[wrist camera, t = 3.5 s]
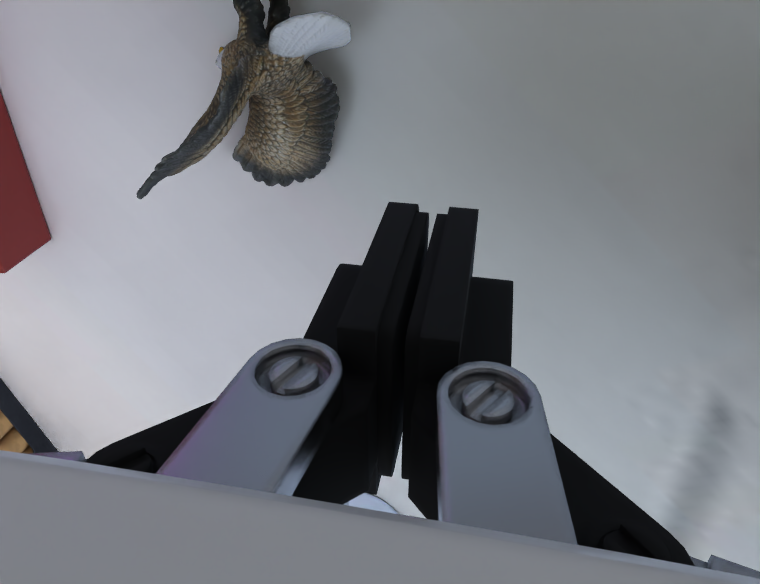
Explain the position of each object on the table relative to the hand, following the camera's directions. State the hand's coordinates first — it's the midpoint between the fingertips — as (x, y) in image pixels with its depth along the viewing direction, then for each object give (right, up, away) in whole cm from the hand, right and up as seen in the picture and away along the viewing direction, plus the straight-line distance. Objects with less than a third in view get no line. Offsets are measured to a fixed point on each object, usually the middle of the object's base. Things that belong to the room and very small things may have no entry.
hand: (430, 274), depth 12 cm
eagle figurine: (-5, +8, +13) cm, 16 cm away
